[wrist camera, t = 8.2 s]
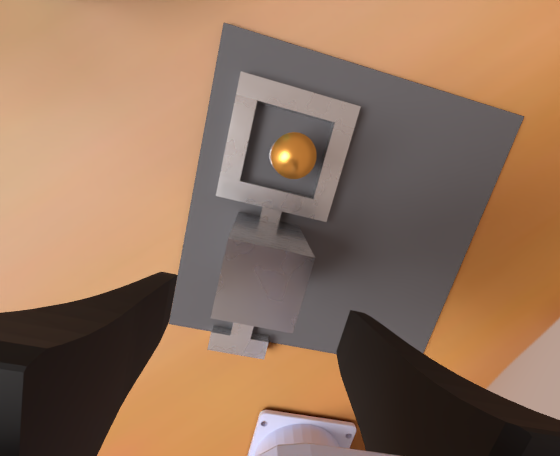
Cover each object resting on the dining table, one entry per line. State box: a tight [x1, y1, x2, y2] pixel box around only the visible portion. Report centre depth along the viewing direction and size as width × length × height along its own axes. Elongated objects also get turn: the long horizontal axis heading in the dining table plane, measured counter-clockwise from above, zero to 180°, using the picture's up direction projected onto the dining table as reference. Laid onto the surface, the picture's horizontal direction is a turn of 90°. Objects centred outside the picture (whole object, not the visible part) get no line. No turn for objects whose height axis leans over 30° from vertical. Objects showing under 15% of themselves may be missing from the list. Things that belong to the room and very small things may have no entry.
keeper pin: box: [268, 132, 317, 179], centre depth 15 cm, size 2×2×5 cm
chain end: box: [208, 71, 361, 359], centre depth 16 cm, size 18×7×6 cm, turn 166°
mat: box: [169, 23, 524, 354], centre depth 19 cm, size 19×19×1 cm
